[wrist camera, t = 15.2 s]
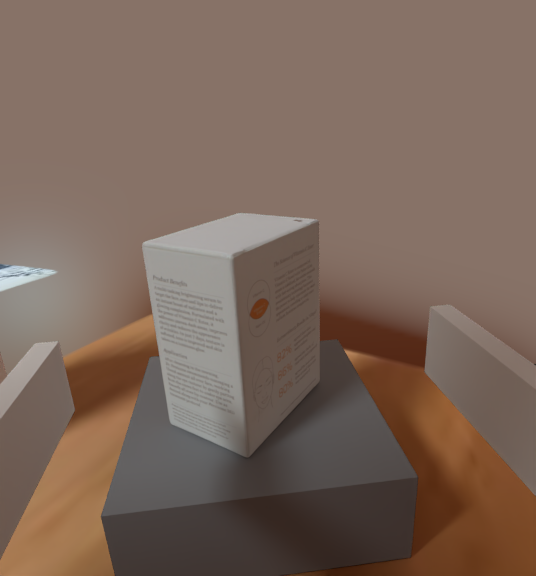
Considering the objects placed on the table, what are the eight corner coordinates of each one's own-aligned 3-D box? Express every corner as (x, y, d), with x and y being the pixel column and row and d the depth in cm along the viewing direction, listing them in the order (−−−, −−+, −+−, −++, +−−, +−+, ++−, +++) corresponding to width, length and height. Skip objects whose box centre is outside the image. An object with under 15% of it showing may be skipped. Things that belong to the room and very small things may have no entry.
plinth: (120, 597, 20) (100, 516, 18) (159, 414, 33) (149, 357, 31) (411, 557, 21) (418, 476, 19) (337, 395, 34) (337, 339, 33)
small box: (250, 362, 30) (239, 211, 26) (322, 383, 27) (321, 216, 23) (165, 426, 24) (137, 240, 20) (247, 463, 21) (231, 252, 17)
